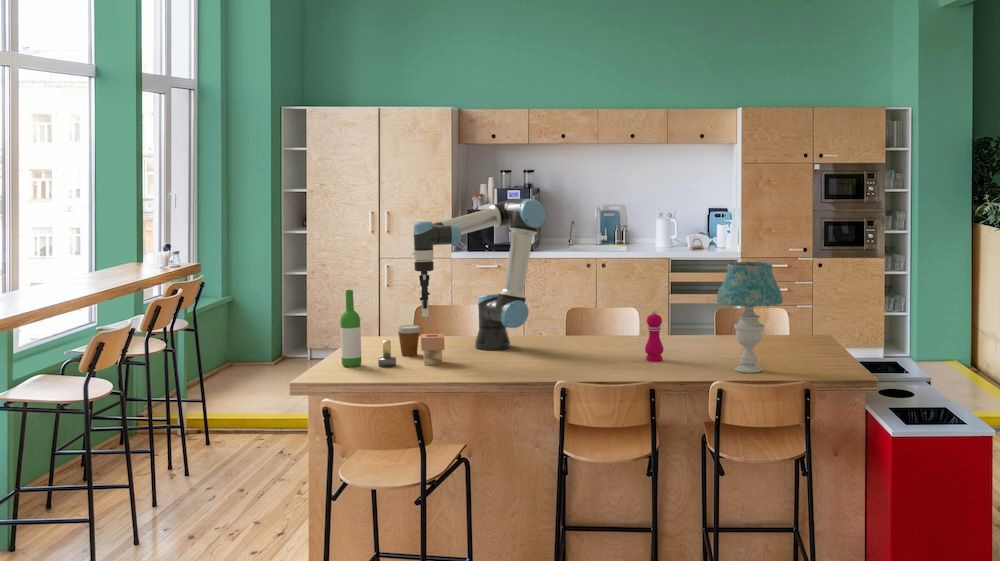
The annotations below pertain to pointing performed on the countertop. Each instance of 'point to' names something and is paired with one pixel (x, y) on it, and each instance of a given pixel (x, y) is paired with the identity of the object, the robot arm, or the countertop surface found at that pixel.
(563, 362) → the countertop surface
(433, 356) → the stand
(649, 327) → the pepper mill
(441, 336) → the square frame block
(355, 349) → the wine bottle
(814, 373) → the countertop surface
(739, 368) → the table lamp
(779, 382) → the countertop surface
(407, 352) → the disposable coffee cup
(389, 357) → the light bulb
